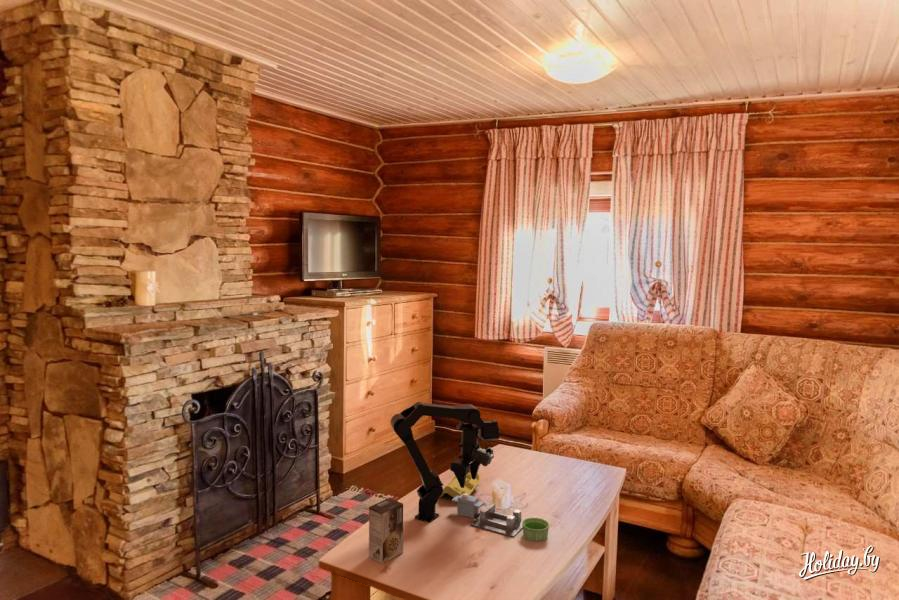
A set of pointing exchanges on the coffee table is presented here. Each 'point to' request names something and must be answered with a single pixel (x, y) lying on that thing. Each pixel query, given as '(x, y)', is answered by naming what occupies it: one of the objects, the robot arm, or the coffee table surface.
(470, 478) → the plastic component
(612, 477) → the coffee table surface
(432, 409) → the robot arm
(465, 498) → the servo
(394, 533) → the coffee box
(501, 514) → the chassis
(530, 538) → the ramekin
